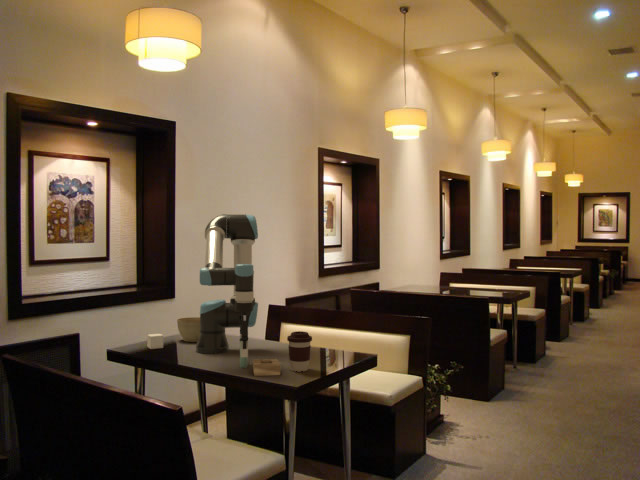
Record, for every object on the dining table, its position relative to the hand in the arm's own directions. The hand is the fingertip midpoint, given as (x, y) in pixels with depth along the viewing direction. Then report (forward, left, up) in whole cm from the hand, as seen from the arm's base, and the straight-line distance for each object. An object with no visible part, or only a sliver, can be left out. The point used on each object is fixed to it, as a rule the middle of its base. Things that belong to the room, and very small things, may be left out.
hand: (243, 353), depth 229 cm
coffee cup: (+8, +22, -6) cm, 24 cm away
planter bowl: (-60, -23, -6) cm, 65 cm away
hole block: (+10, +9, -6) cm, 14 cm away
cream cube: (-45, -40, -6) cm, 61 cm away
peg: (0, 0, -6) cm, 6 cm away
